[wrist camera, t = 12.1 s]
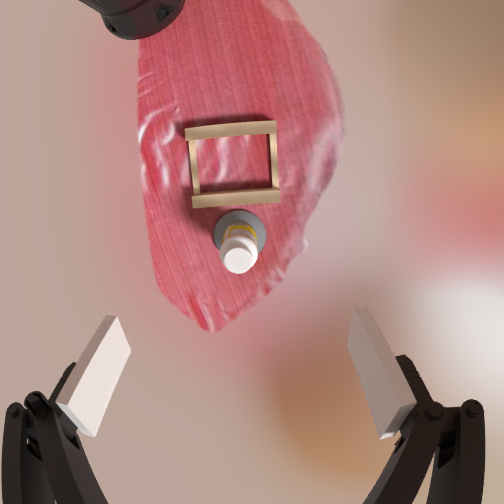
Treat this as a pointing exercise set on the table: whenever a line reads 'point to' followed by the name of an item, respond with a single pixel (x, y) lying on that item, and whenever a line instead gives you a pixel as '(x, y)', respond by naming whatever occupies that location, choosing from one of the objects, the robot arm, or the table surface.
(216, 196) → the open wooden frame
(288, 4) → the table surface
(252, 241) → the supplement bottle
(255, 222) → the coaster
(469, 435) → the robot arm
